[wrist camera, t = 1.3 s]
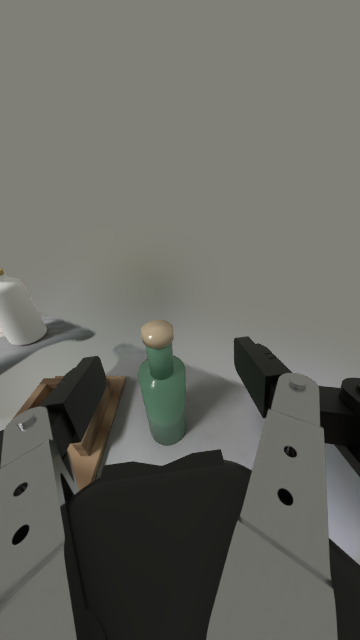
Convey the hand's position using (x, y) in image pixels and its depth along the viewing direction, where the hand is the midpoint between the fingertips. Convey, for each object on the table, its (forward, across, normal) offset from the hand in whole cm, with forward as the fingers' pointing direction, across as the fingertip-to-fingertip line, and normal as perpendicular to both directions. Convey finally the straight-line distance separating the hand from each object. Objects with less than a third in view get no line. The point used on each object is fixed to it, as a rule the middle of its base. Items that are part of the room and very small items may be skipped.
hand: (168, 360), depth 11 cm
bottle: (+12, +3, +20) cm, 23 cm away
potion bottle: (+37, +39, +11) cm, 55 cm away
